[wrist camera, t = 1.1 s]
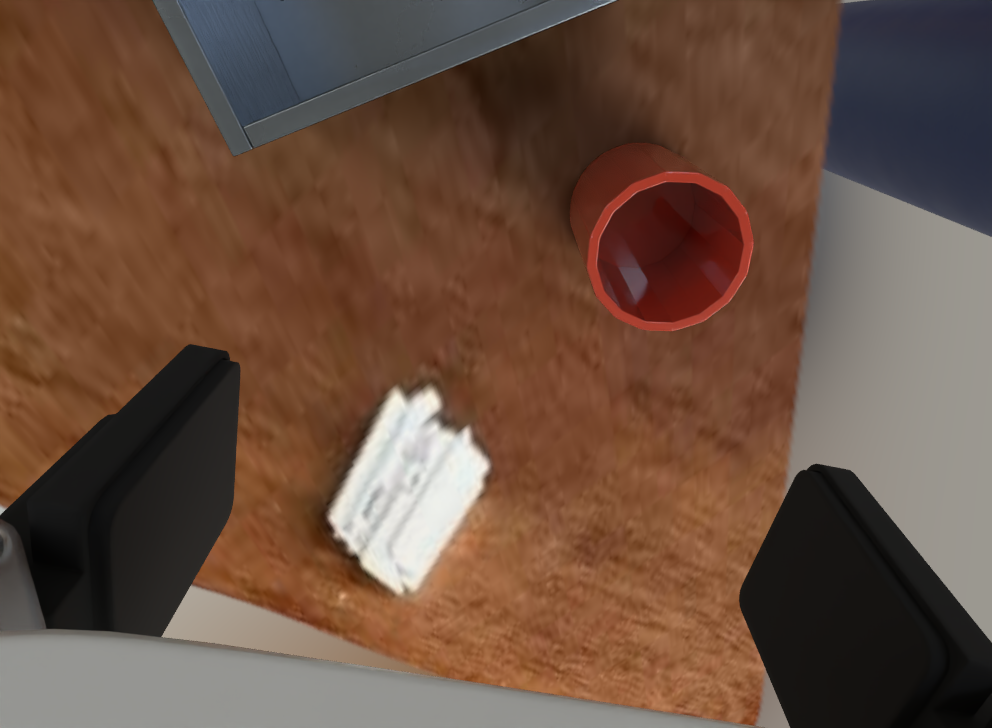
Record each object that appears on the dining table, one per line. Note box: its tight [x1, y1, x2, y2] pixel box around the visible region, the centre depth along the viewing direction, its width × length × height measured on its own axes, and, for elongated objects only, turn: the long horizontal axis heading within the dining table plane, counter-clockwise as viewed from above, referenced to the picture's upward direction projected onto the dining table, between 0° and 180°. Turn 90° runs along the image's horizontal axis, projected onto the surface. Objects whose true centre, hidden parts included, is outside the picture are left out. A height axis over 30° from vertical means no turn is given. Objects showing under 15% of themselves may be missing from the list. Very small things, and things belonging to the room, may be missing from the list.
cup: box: [570, 143, 754, 331], centre depth 30 cm, size 6×6×8 cm
